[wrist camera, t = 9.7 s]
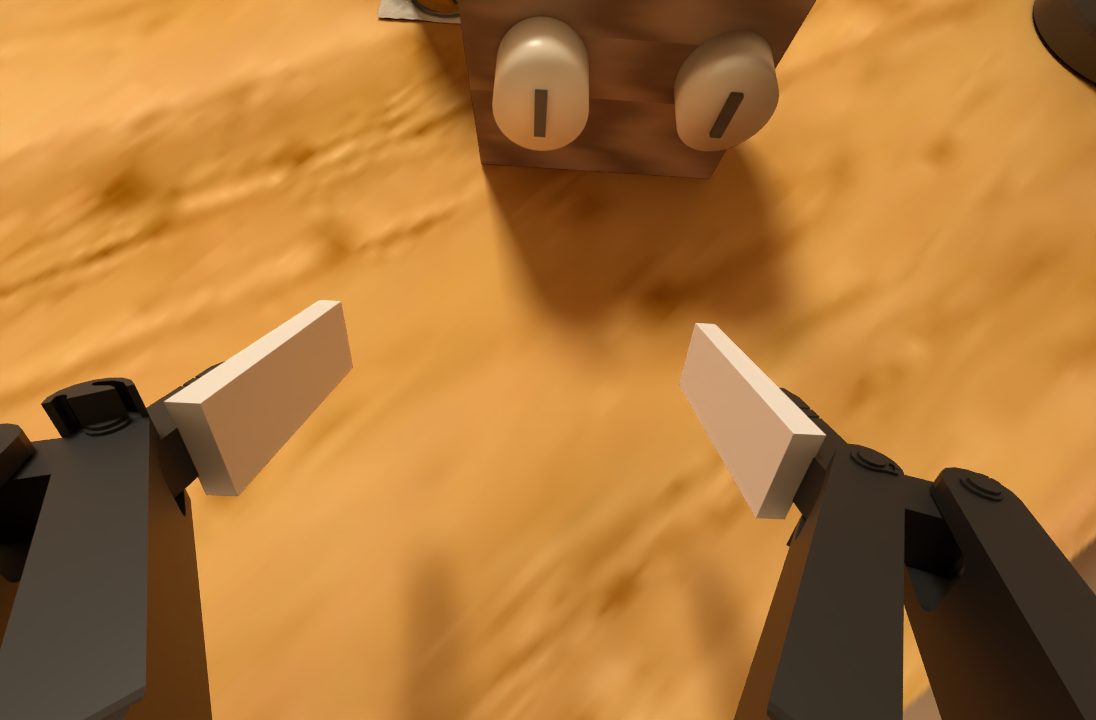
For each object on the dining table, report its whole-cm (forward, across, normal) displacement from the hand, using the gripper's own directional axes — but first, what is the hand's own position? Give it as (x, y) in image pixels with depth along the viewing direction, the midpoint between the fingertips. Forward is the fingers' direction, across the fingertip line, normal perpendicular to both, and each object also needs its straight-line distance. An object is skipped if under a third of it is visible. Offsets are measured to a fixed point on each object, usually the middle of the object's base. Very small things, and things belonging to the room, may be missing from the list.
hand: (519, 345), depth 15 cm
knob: (+17, 0, +12) cm, 20 cm away
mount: (+19, +4, +8) cm, 22 cm away
